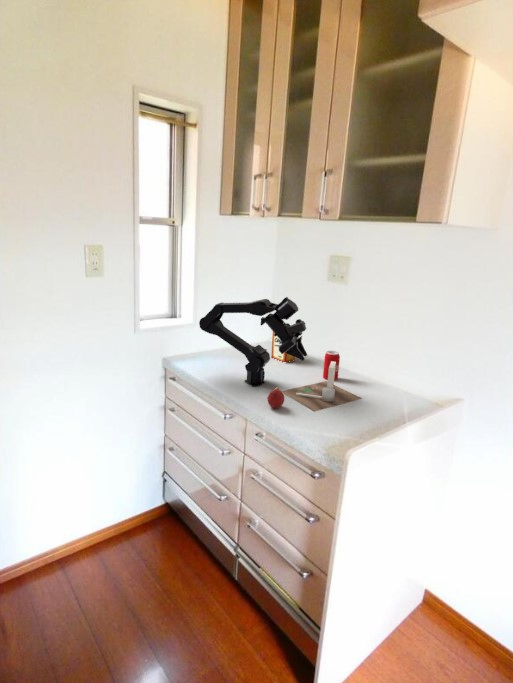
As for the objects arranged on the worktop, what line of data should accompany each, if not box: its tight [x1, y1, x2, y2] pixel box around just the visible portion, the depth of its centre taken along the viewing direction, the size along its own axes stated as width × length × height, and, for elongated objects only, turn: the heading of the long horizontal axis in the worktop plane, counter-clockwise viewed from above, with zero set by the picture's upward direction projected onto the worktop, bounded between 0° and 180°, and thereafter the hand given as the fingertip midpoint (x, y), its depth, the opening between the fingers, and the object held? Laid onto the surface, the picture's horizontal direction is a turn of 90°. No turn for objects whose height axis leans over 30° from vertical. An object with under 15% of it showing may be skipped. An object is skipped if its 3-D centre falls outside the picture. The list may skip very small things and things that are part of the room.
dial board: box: [280, 380, 363, 412], centre depth 156 cm, size 24×20×1 cm
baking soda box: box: [270, 331, 296, 363], centre depth 196 cm, size 10×6×16 cm
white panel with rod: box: [296, 361, 336, 402], centre depth 155 cm, size 13×14×12 cm
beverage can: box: [322, 350, 341, 382], centre depth 173 cm, size 6×6×12 cm
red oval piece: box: [267, 386, 285, 409], centre depth 143 cm, size 6×6×8 cm
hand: (305, 357), depth 157 cm, fingers open, 5 cm apart
